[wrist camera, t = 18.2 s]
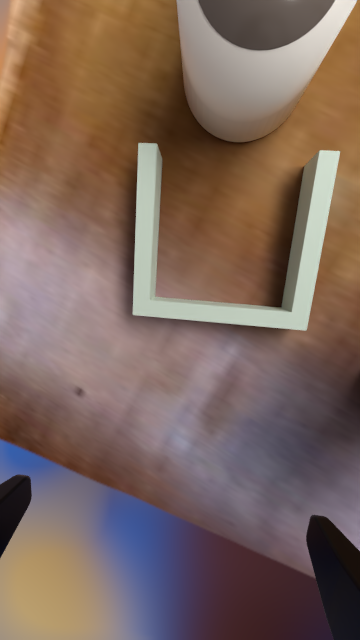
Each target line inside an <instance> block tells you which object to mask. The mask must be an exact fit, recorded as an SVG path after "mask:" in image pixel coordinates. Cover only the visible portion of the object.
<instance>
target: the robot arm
mask: <svg viewBox="0 0 360 640" xmlns="http://www.w3.org/2000/svg"><path fill="white" fill-rule="evenodd" d="M31 496H32V495H31V480H30V477H29V476H26V475H16V476H13V477H12V478H10V479H9V480H7V481H5V482H4V483H2V484H0V558H1V556H2V554H3V552H4V550H5V549H6V546H7V545H8V543H9V541H10V539H11V537H12V536H13V533H14V532H15V530H16V528H17V526H18V524H19V522H20V521H21V519H22V517H23V515H24V513H25V511H26V510H27V508H28V506H29V504H30V501H31ZM306 541H307V547H308V550H309V554H310V558H311V562H312V566H313V569H314V573H315V577H316V581H317V584H318V588H319V592H320V595H321V600H322V603H323V607H324V611H325V614H326V618H327V621H328V624H329V627H330V629H331V633H332V636H333V639H334V640H360V551H359V550H358V549H357V548H356V547H355V546H354V545H353V544H352V543H351V542H350V541H349V540H348V539H347V538H346V537H345V536H344V534H343V533H342V532H341V531H340V530H339V529H338V528H337V527H336V526H335V525H334V524H333V523H332V522H331V521H330V520H329V519H328V518H327V517H324V516H318V515H312V516H311V518H310V522H309V526H308V530H307V535H306Z"/></svg>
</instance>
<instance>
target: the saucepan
mask: <svg viewBox="0 0 360 640" xmlns="http://www.w3.org/2000/svg"><path fill="white" fill-rule="evenodd" d="M356 1H357V0H177V10H178V22H179V33H180V45H181V56H182V68H183V79H184V90H185V95H186V99H187V102H188V105H189V107H190V109H191V112H192V114H193V115H194V117H195V118H196V120H197V121H198V122H199V124H200V125H201V126H202V127H203V128H204V129H205V130H207V131H208V132H209V133H211V134H212V135H214V136H216V137H218V138H220V139H223V140H226V141H231V142H247V141H253V140H256V139H259V138H261V137H264V136H266V135H268V134H269V133H271V132H272V131H274V130H275V129H276V128H278V127H279V126H280V125H281V124H282V123H283V122H284V121H285V120H286V119H287V118H288V117H289V115H290V114H291V113H292V112H293V110H294V108H295V107H296V105H297V103H298V102H299V100H300V98H301V97H302V95H303V93H304V91H305V90H306V88H307V86H308V85H309V83H310V81H311V79H312V78H313V76H314V74H315V73H316V71H317V69H318V67H319V66H320V64H321V62H322V61H323V59H324V57H325V55H326V54H327V52H328V50H329V48H330V47H331V45H332V43H333V42H334V40H335V38H336V36H337V35H338V33H339V31H340V30H341V28H342V26H343V24H344V23H345V21H346V19H347V18H348V16H349V14H350V12H351V11H352V9H353V7H354V5H355V4H356Z"/></svg>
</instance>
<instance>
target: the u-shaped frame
mask: <svg viewBox="0 0 360 640" xmlns="http://www.w3.org/2000/svg"><path fill="white" fill-rule="evenodd" d="M339 155H340V151H322V150H320V151H319V152H318V153H317V154H316V155H315V156H314V157H313V158H312V159H311V160H310V161H309V162H308V163H307V164H306V165H305V166H304V171H303V178H302V184H301V190H300V196H299V202H298V208H297V214H296V221H295V227H294V233H293V239H292V245H291V251H290V257H289V264H288V270H287V276H286V282H285V288H284V294H283V300H282V307H270V306H258V305H246V304H234V303H222V302H210V301H198V300H186V299H174V298H162V297H155V290H156V271H157V252H158V233H159V214H160V195H161V176H162V157H161V154H160V151H159V148H158V145H157V144H155V143H138V172H137V201H136V230H135V259H134V289H133V315H138V316H149V317H161V318H172V319H183V320H194V321H205V322H217V323H228V324H239V325H250V326H261V327H272V328H284V329H295V330H307V325H308V320H309V314H310V309H311V304H312V299H313V293H314V288H315V283H316V277H317V272H318V267H319V261H320V256H321V251H322V245H323V240H324V235H325V229H326V224H327V219H328V214H329V208H330V203H331V198H332V192H333V187H334V182H335V176H336V171H337V166H338V160H339Z"/></svg>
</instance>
